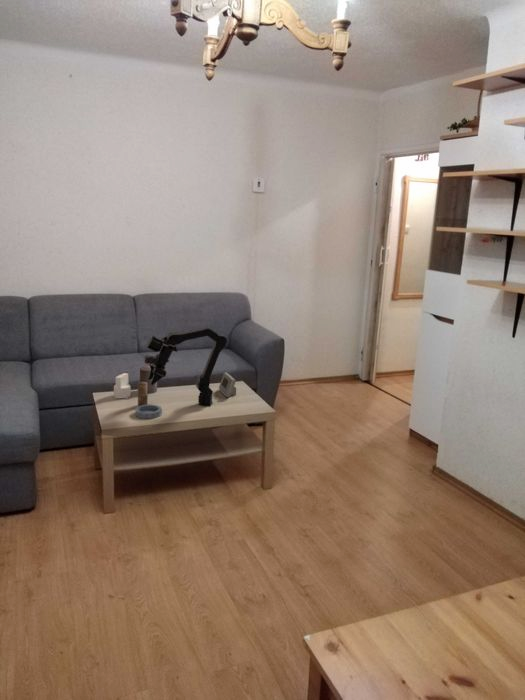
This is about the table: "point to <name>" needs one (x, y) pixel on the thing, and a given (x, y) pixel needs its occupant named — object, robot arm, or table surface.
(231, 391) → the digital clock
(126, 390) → the cylinder with rectangular tab
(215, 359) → the robot arm
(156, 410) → the ceramic ring dish
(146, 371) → the pillar candle
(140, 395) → the brown tapered cylinder
